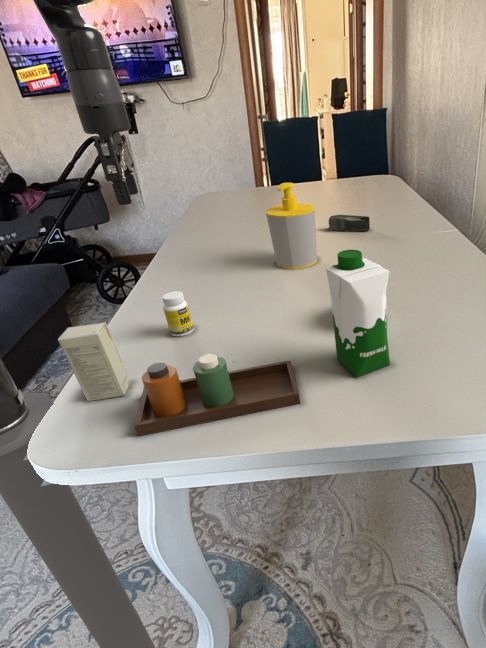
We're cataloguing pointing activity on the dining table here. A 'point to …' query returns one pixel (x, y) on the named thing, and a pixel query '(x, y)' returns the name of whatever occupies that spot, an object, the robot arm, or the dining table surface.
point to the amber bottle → (164, 389)
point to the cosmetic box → (95, 361)
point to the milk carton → (359, 312)
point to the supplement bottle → (177, 314)
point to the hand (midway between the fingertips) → (129, 199)
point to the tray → (249, 397)
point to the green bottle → (213, 380)
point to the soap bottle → (292, 231)
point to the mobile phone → (349, 223)
